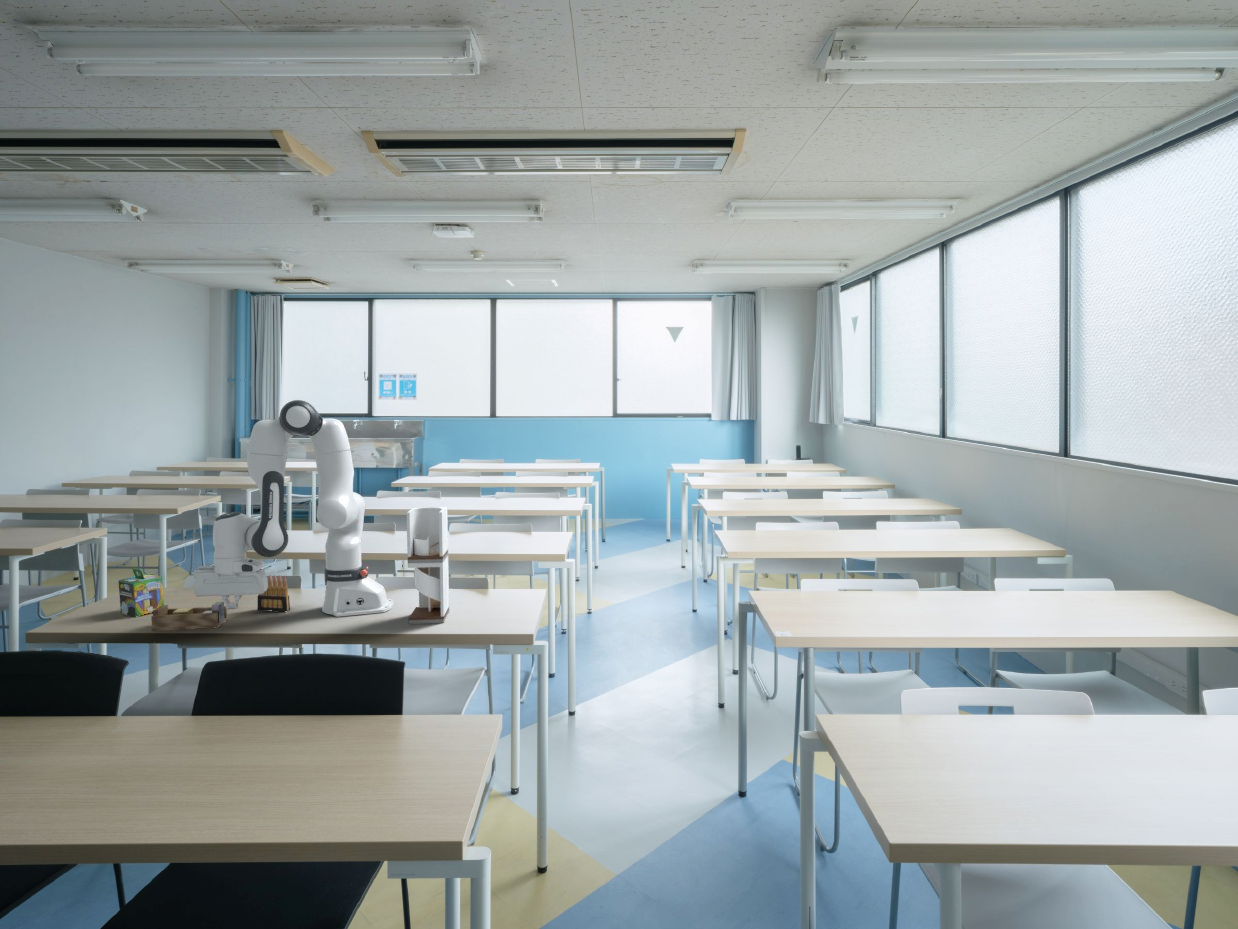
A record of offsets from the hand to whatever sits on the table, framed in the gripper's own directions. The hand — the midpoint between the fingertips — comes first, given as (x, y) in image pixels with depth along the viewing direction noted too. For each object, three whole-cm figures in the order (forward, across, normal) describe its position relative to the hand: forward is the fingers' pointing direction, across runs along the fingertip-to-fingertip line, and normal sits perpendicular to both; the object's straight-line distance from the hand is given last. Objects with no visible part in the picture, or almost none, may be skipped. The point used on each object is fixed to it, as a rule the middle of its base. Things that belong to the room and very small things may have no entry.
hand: (232, 608), depth 212 cm
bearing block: (+5, -12, 0) cm, 13 cm away
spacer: (+4, -14, 0) cm, 14 cm away
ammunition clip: (+5, +8, +13) cm, 16 cm away
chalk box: (+5, -34, +18) cm, 39 cm away
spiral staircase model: (+5, +60, -4) cm, 60 cm away
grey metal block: (+4, -6, 0) cm, 7 cm away
